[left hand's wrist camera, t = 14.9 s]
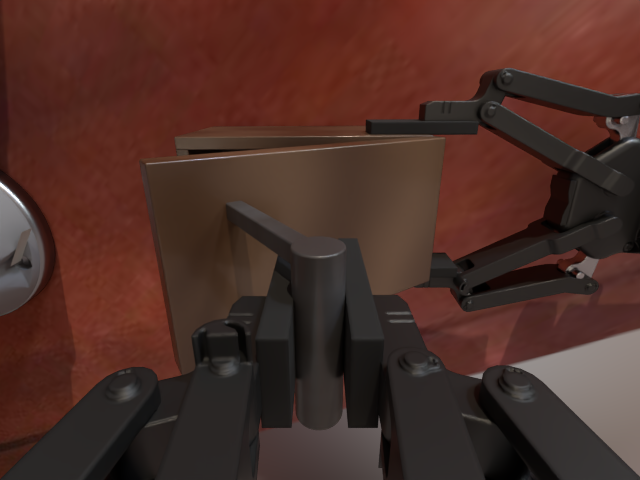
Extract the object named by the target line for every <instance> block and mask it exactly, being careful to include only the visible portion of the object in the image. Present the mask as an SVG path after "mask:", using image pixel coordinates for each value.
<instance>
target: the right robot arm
mask: <svg viewBox="0 0 640 480" xmlns="http://www.w3.org/2000/svg"><path fill="white" fill-rule="evenodd" d="M505 96H507V97H510V98H514V99H518V100H522V101H526V102H530V103H534V104H537V105H541V106H545V107H549V108H553V109H557V110H560V111H564V112H568V113H572V114H576V115H582V116H594V118H593V121H594V122H595V123H596V124H597V126H598V127H600V128H604V129H607V130H608V131H609V133H610V137H609V138H607V139H605V140H603V141H602V142H600V143H599V144H597V145H595V146H594V147H592V148H591V149H589V150H587V151H586V152H582V151H579V150H577V149H575V148H573V147H571V146H569V145H568V144H566V143H564V142H563V141H561V140H559V139H558V138H556V137H554V136H553V135H551V134H549V133H547V132H546V131H544V130H542V129H541V128H539V127H537V126H536V125H534V124H532V123H531V122H529V121H527V120H525V119H524V118H522V117H520V116H519V115H517V114H515V113H514V112H512V111H510V110H509V109H507V108H505V107H504V106H502V105H501V103H502V101H503V99H504V97H505ZM639 118H640V93H631V94H611V95H609V94H606V93H602V92H598V91H594V90H591V89H587V88H583V87H579V86H576V85H572V84H568V83H564V82H561V81H557V80H553V79H550V78H546V77H542V76H538V75H535V74H531V73H527V72H523V71H520V70H516V69H512V68H504V69H498V70H492V71H488V72H485V73H484V74H483V75H482V76H481V78H480V87H479V89H478V91H477V93H476V94H475V96H474V97H473V98H471V99H470V100H467V101H427V102H425V103H422V104H420V110H419V120H366V132H368V133H369V134H371V135H398V134H430V135H459V134H477V131H478V124H479V125H480V126H482V127H484V128H485V129H487V130H489V131H491V132H492V133H494V134H496V135H498V136H499V137H501V138H503V139H505V140H506V141H508V142H510V143H512V144H513V145H515V146H517V147H519V148H520V149H522V150H524V151H526V152H527V153H529V154H531V155H533V156H534V157H536V158H538V159H540V160H541V161H542V162H543V163H544V164H546V165H548V166H550V167H551V168H553V169H555V170H557V171H558V173H557V175H553V176H552V180H551V185H550V188H551V197H550V199H549V201H548V203H547V205H546V207H545V211H544V216H543V218H541V219H539V220H536V221H534V222H532V223H530V224H529V225H528V228H527V229H525V230H522V231H520V232H518V233H516V234H513V235H511V236H509V237H507V238H504V239H502V240H500V241H497V242H495V243H493V244H491V245H488V246H486V247H484V248H482V249H479V250H477V251H475V252H473V253H470V254H468V255H466V256H464V257H461V258H459V259H457V260H455V261H452V260H451V259H450V258H449V257H448V256H447V254H446V253H432V260H431V269H430V277H429V281H427V282H425V283H422V284H420V285H417V286H414V287H415V288H423V287H448V288H450V291H451V294H452V295H453V296H454V298H455V299H456V301H457V302H458V304H459V305H460V307H461V308H462V309H463V310H464V311H466V312H471V311H476V310H481V309H485V308H490V307H495V306H500V305H505V304H510V303H515V302H520V301H525V300H530V299H535V298H540V297H545V296H550V295H555V294H560V293H564V292H566V293H576V294H586V295H589V294H592V293H594V292H595V291H596V290H597V289H598V286H599V285H598V282H597V281H595V280H594V279H592V278H591V277H592V275H593V272H594V270H595V267H596V265H597V263H598V260H599V259H603V258H606V257H609V256H611V255H613V254H616V253H622V252H623V253H639V254H640V139H639V138H636V134H637V129H638V123H639ZM573 249H576V250H578V253H577V255H576V256H575V257H573V258H571V259H565V260H563V259H559V260H558V261H557V264H544V265H538V266H533V267H528V268H524V269H519V270H514V269H517V268H519V267H521V266H524V265H526V264H528V263H531V262H533V261H536V260H538V259H540V258H543V257H545V256H547V255H550V254H557V255H558V254H563V253H565V252H568V251H570V250H573ZM512 270H514V271H512Z"/></svg>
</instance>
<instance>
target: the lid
mask: <svg viewBox="0 0 640 480" xmlns="http://www.w3.org/2000/svg"><path fill="white" fill-rule="evenodd" d="M445 141H446V138H445V137H435V136H423V137H410V138H398V139H385V140H373V141H360V142H348V143H335V144H322V145H310V146H297V147H285V148H272V149H260V150H247V151H235V152H222V153H209V154H197V155H184V156H172V157H159V158H147V159H140V161H139V162H140V168H141V173H142V179H143V185H144V190H145V196H146V201H147V207H148V212H149V218H150V224H151V229H152V235H153V240H154V246H155V251H156V257H157V262H158V268H159V274H160V279H161V285H162V290H163V296H164V301H165V307H166V312H167V318H168V324H169V329H170V335H171V340H172V346H173V351H174V357H175V361H176V364H177V366H178V368H179V370H180V373H181V374H182V375H184V374H187V373H190V372H192V371H194V369H195V359H194V352H193V346H192V339H191V335H192V334H193V333H194V331H195V330H196V329H197V328H199V327H200V326H202V325H203V324H205V323H208V322H211V321H214V320H218V319H225V318H227V316H228V315H229V312H230V309H231V307H232V305H233V304H234V303H235V302H236V301H237V300H238V299H240V298H241V297H242V296H267V293H268V290H269V286H270V282H271V279H272V275H273V271H274V268H275V264H276V260H277V257H278V255H279V256H280V257H282V258H283V259H284V260H286V261H287V262H289V263H290V264H291V289H292V298H293V305H294V337H295V370H296V381H295V402H296V415H297V418H298V420H299V421H300V422H301V423H302V424H303V425H304V426H305V427H307V428H309V429H313V430H325V429H329V428H331V427H333V426H334V425H335V424H337V423H338V421H339V420H340V418H341V416H342V406H343V366H344V325H345V284H346V246H345V244H344V243H343V242H342V241H340V240H338V238H357V239H358V243H359V247H360V250H361V254H362V258H363V261H364V265H365V269H366V273H367V276H368V280H369V284H370V287H371V291H372V295H394V294H396V293H399V292H401V291H404V290H407V289H409V288H412V287H414V286H417V285H420V284H422V283H425V282H427V281H429V277H430V269H431V260H432V252H433V243H434V235H435V226H436V218H437V209H438V200H439V192H440V183H441V175H442V166H443V158H444V149H445Z"/></svg>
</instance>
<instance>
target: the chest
mask: <svg viewBox="0 0 640 480" xmlns="http://www.w3.org/2000/svg"><path fill="white" fill-rule="evenodd" d="M423 136H433V135H430V134H398V135H371V134H369V133H368V132H366V126H243V127H210V128H206V129H203V130H199V131H195V132H192V133H188V134H184V135H181V136H177V137H175V145H176V152H177V156H184V155H197V154H209V153H222V152H235V151H247V150H260V149H272V148H285V147H297V146H310V145H322V144H335V143H348V142H360V141H373V140H385V139H398V138H410V137H423Z"/></svg>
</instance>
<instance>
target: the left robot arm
mask: <svg viewBox="0 0 640 480" xmlns="http://www.w3.org/2000/svg"><path fill="white" fill-rule="evenodd" d="M338 240H340V241H342V242H343V243H344V244H345V246H346V284H345V325H344V366H343V373H344V384H345V396H346V408H347V419H348V428H378V418H380V423H381V429H382V431H381V443H380V455H379V468H382V470H383V480H640V477H639V476H638V475H637V474H636V473H635V472H634V471H633V470H632V469H631V468H630V467H629V466H628V465H627V464H626V463H625V462H624V461H623V460H622V459H621V458H620V457H619V456H618V455H617V454H616V453H615V452H614V451H613V450H612V449H611V448H610V447H609V446H608V445H607V444H606V443H605V442H603V440H602V439H600V438H599V437H598V436H597V435H596V434H595V433H594V432H593V431H592V430H591V429H590V428H589V427H588V426H587V425H586V424H585V423H584V422H583V421H582V420H581V419H580V418H579V417H578V416H577V415H576V414H575V413H574V412H573V411H572V410H571V409H570V408H569V407H568V406H567V405H566V404H565V403H564V402H563V401H562V400H561V399H560V398H559V397H558V396H556V395H555V394H554V393H553V392H552V391H551V390H550V389H549V388H548V387H547V386H546V385H545V384H544V383H543V382H542V381H541V380H539V379H538V378H537V377H535V376H534V375H533V374H530V373H528V372H526V371H524V370H522V369H519V368H515V367H511V366H499V365H497V366H493V367H490V368H488V369H487V370H486V371H485V372H484V373H483V377H482V379H478V378H473V377H469V376H464V375H460V374H457V373H454V372H451V371H449V370H447V369H446V368H445V366H444V364H443V362H442V361H441V359H440V358H439V357H437V356H436V355H435V354H433V353H432V352H430V351H428V350H427V348H426V346H425V344H424V341H423V339H422V337H421V334H420V332H419V330H418V327H417V325H416V323H415V320H414V318H413V316H412V315H411V311H410V309H409V306H408V304H407V303H406V302H405V301H404V300H403V299H402V298H400V297H399V296H398V295H372V291H371V287H370V284H369V280H368V276H367V273H366V269H365V265H364V261H363V258H362V254H361V250H360V247H359V243H358V239H357V238H338ZM54 262H55V249H54V242H53V237H52V234H51V231H50V228H49V226H48V223H47V221H46V219H45V217H44V215H43V214H42V212H41V210H40V209H39V207H38V206H37V204H36V203H35V202H34V200H33V199H32V198H31V197H30V196H29V194H28V193H27V192H26V191H25V190H24V189H23V188H22V187H21V186H20V185H19V184H18V183H16V182H15V181H14V180H13V179H12V178H10V177H9V176H8V175H6V174H5V173H4V172H2V171H1V170H0V316H2V315H5V314H8V313H10V312H12V311H14V310H16V309H18V308H19V307H20V306H22V305H23V304H25V303H26V302H28V301H29V300H31V299H32V298H33V297H35V296H36V295H37V294H38V293H40V292H41V291H42V289H43V288H44V287H45V286H46V284H47V283H48V281H49V279H50V277H51V275H52V271H53V268H54ZM191 339H192V346H193V352H194V359H195V369H194V371H192V372H190V373H187V374H184V375H181V376H177V377H173V378H169V379H164V380H160V381H158V379H157V375H156V374H155V373H154V372H153V370H151V369H148V368H145V367H131V368H127V369H123V370H119V371H117V372H115V373H113V374H111V375H109V376H107V377H105V378H104V379H103V380H102V381H100V382H99V383H98V384H96V385H95V386H94V387H93V388H92V389H91V390H90V391H89V392H88V393H87V394H86V395H85V396H84V397H83V398H82V399H81V400H80V401H79V402H78V403H77V404H76V405H75V406H74V407H73V408H72V409H71V410H70V411H69V412H68V413H67V414H66V415H65V416H64V417H63V418H62V419H61V420H60V421H59V422H58V423H57V424H56V425H55V426H54V427H53V428H52V429H51V430H50V431H49V432H48V433H47V434H46V435H45V436H44V437H43V438H42V439H41V440H40V441H39V442H38V443H37V444H35V445H34V446H33V447H32V448H31V449H30V450H29V451H28V452H27V453H26V454H25V455H24V456H23V457H22V458H21V459H20V460H19V461H18V462H17V463H16V464H15V465H14V466H13V467H12V468H11V469H10V470H9V471H8V472H7V473H6V474H5V475H4V476H3V477H2V478H1V479H0V480H257V470H258V459H259V448H260V443H259V430H258V429H259V423H260V418H261V422H262V428H291V427H292V415H293V404H294V392H295V381H296V370H295V337H294V305H293V298H292V289H291V264H290V263H289V262H287V261H286V260H284V259H283V258H282V257H280V256H279V255H278V257H277V260H276V264H275V268H274V271H273V275H272V279H271V282H270V286H269V290H268V293H267V296H242V297H241V298H240V299H238V300H237V301H236V302H235V303H234V304H233V305H232V307H231V309H230V312H229V315H228V316H227V318H225V319H218V320H214V321H211V322H208V323H205V324H203V325H202V326H200V327H199V328H197V329H196V330H195V331H194V333H193V334H192V335H191Z"/></svg>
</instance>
